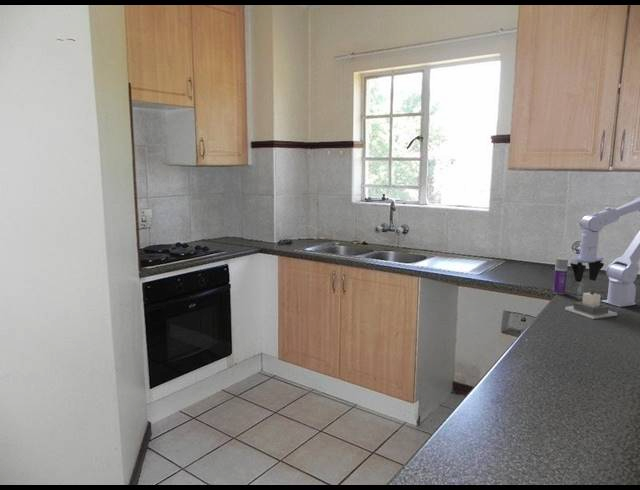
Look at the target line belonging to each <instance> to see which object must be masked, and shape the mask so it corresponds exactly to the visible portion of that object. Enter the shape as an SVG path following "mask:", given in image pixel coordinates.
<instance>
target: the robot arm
mask: <svg viewBox="0 0 640 490" xmlns="http://www.w3.org/2000/svg"><path fill="white" fill-rule="evenodd" d="M637 211H638V213H640V196H639V197H636V198H635V199H634V200H631V201H629V202H628V203H624V204H623V205H621V206H619V207H616V208H614V207H610V206H607V207H605V208H604V209H603V210H601V211H598V212H594V213H593V214H592V215H589V214H587V215H585V216H583V217H582V218H581V220H580V221H579V222H578V223H579V227H580V229H581V240H580V249H579V255H577V257H573V258H571V262H570V266H571V269H572V271H573V275H574V280H575V282H578V283H582V281H583V277H584V276H583V275H584V272H585V270H586V268H587V265H584V264H587V263H588V268H589V274H588V276H589V277H588V278H589V280H590V281H594V282H595V281H596V280H597V277H598V275H599V273H600V271H601V270H602V268H603V267H604V266H605V263H603V262H604V257H603V256H598V255H597V254H598V248H599V246H598V245H599V238H600V232H601V231H602V230H603V229H604V227H606V226H608V225H612V224H613V223H616V222H619V219H620V217H623V216H625V215H628V214H631V213H634V212H637ZM638 262H640V230H638V232H637V233H636V235H635V237H634V238H633V239H632V241H631V242H630V244H629V245H628V247H627V248H626V250H625V251H624V253H623V255H621V256H620V257H617V258H615V259H613V261H612V262H610V263H609V264H608V266H606V268H605V273H606V276H607V277H608V281H609V282H608V291H607V299H602V300H601V302H602V303H606V304H608V305H613V306H616V307H619V308H620V307H629V306H636V305H637V303H636V302H635V300H636V295H637V294H636V291H637V287H636V285H635V283H634V282H635V281H636V279H637V277H638V273H639V271H640V265H639V264H638ZM635 304H636V305H635Z"/></svg>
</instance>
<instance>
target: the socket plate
mask: <svg viewBox="0 0 640 490" xmlns="http://www.w3.org/2000/svg"><path fill="white" fill-rule="evenodd" d="M609 308H610V306H607V305H605V304H601V303H600V306H599V307H594V308H592V307H589V306H586V305H582V301H576V302H573V305H571V306H568V305H567V306H564V310H565V311H568V312H571V313H573V314H577V315H581V316H583V317H586V318H589V319H591V320H592V319H593V320H594V319H601V318H602V319H603V318H609V317H616V316H618V312H616V311H612V310H610V309H609Z"/></svg>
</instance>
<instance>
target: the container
mask: <svg viewBox="0 0 640 490" xmlns="http://www.w3.org/2000/svg"><path fill="white" fill-rule="evenodd" d="M568 264H569V259H568V258H565V257H556V258H555V266H554V275H553V276H554V277H553V287H552V293H553V294H555V295H565V294H566V286H567V276H568V267H569V266H568Z"/></svg>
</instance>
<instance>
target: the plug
mask: <svg viewBox="0 0 640 490" xmlns="http://www.w3.org/2000/svg"><path fill="white" fill-rule="evenodd" d="M581 302H582V305H586V306H589V307H592V308H594V307H599V306H600V304H601V294H599V293H596V292H595V290H590V291H589V292H583V293H582V301H581Z"/></svg>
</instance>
